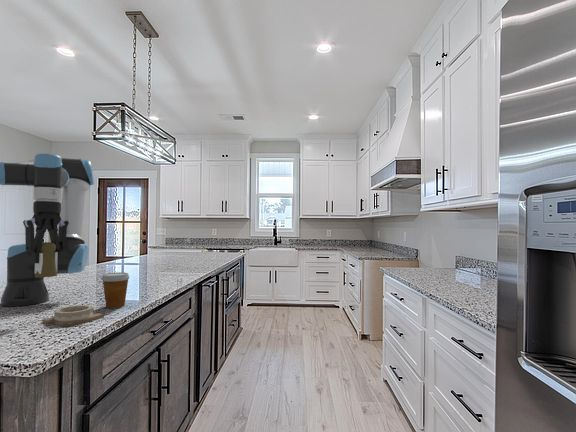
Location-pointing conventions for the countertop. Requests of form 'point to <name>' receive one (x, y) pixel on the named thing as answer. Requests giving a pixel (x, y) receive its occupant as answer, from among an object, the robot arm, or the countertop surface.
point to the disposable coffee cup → (115, 288)
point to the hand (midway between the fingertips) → (46, 272)
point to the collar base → (72, 323)
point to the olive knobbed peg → (48, 260)
